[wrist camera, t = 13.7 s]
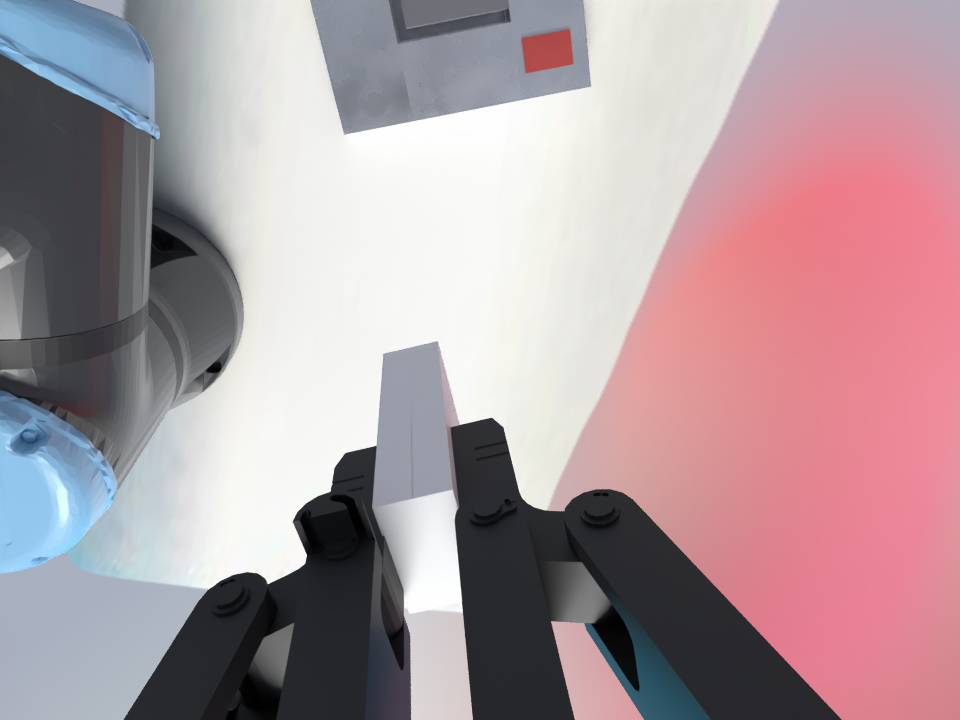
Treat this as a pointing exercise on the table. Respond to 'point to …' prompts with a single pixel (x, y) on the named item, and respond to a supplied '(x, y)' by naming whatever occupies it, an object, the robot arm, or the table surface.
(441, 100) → the socket plate
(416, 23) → the plug
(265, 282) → the table surface
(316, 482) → the table surface
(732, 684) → the robot arm
